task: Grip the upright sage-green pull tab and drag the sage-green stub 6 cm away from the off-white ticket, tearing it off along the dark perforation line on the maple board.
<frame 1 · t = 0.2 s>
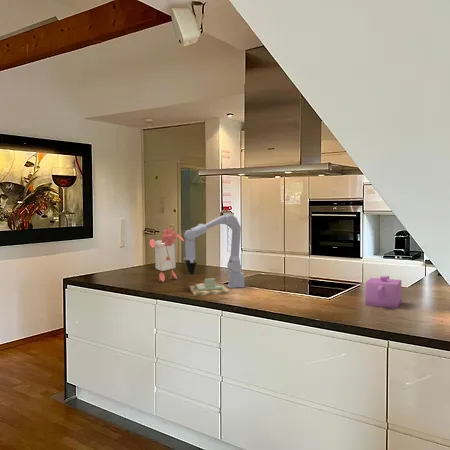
hand: (190, 273, 277), 10 cm above the worktop, fingers open, 7 cm apart
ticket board: (209, 291, 274), on the worktop
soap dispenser: (162, 269, 353), on the worktop
teapot: (383, 303, 238), on the worktop
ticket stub: (209, 283, 271), point 5 cm above the worktop, slide at 0.0 cm
figurine: (171, 281, 304), on the worktop
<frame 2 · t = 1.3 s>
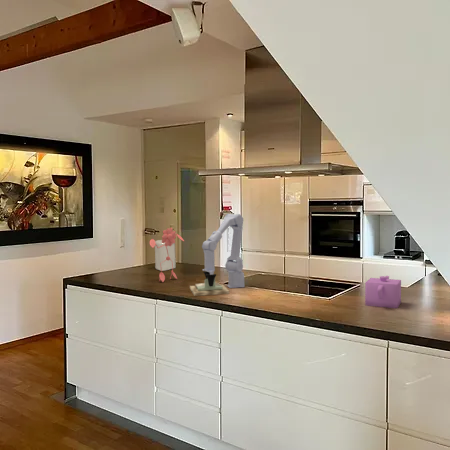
hand: (209, 284, 269), 4 cm above the worktop, fingers open, 7 cm apart
nothing on the worktop moved.
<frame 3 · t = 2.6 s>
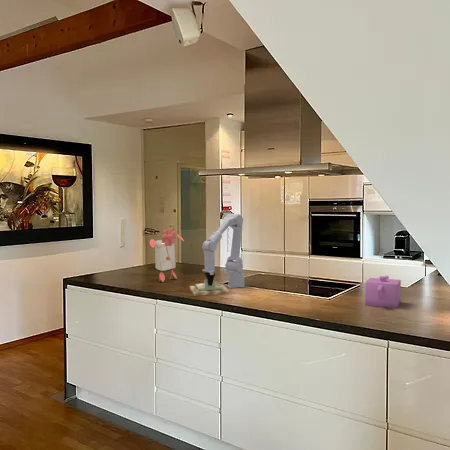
hand: (210, 285, 269), 4 cm above the worktop, fingers closed on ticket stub
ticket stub: (209, 283, 271), point 5 cm above the worktop, slide at 0.0 cm, touching gripper
everything else where it was.
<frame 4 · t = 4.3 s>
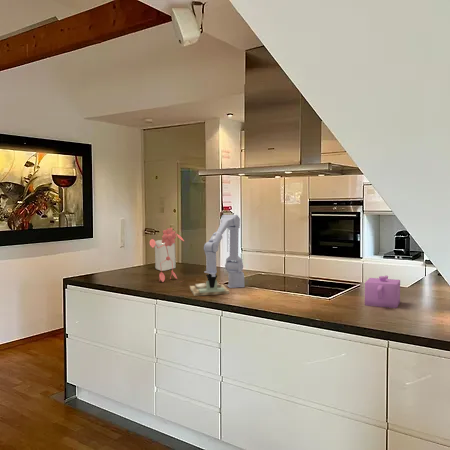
hand: (211, 287, 264), 4 cm above the worktop, fingers closed on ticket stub
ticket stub: (211, 285, 265), point 5 cm above the worktop, slide at 6.0 cm, touching gripper
everything else where it was.
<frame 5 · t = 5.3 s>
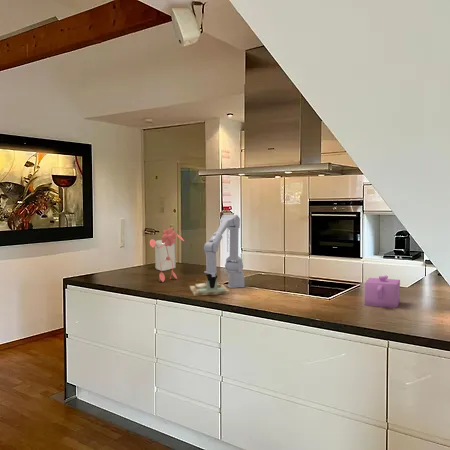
hand: (211, 287, 264), 4 cm above the worktop, fingers open, 3 cm apart
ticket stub: (211, 285, 265), point 5 cm above the worktop, slide at 6.0 cm
everything else where it was.
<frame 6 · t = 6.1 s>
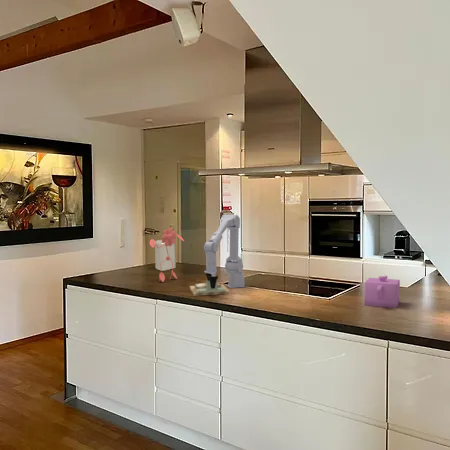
hand: (211, 287, 264), 4 cm above the worktop, fingers open, 7 cm apart
nothing on the worktop moved.
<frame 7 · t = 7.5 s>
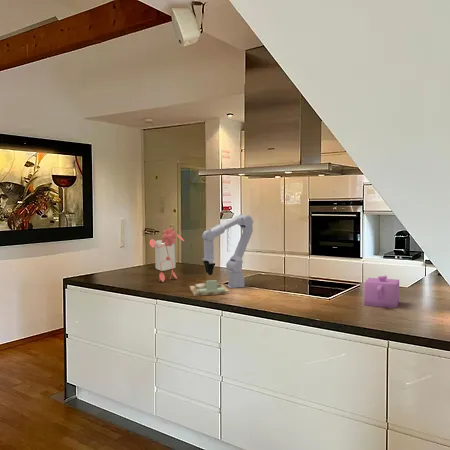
hand: (209, 273, 277), 9 cm above the worktop, fingers open, 7 cm apart
nothing on the worktop moved.
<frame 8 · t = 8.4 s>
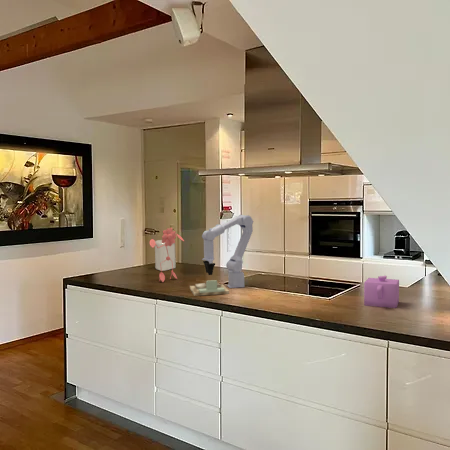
hand: (209, 273, 277), 9 cm above the worktop, fingers open, 7 cm apart
nothing on the worktop moved.
at the end: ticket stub slide at 6.0 cm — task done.
